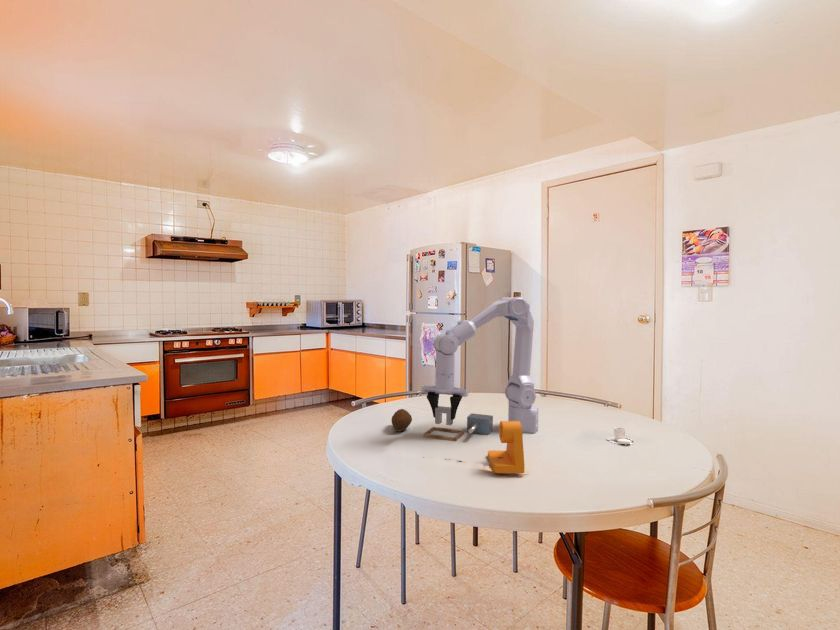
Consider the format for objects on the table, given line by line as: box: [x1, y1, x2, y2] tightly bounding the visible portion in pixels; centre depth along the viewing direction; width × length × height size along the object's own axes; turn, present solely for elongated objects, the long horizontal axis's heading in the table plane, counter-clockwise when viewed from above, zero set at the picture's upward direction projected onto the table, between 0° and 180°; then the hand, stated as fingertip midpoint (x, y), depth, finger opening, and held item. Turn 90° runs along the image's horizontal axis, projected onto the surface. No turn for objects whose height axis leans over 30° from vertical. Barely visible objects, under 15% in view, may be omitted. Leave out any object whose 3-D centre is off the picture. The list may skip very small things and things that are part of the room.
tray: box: [422, 426, 465, 442], centre depth 134 cm, size 10×8×2 cm
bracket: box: [487, 420, 525, 474], centre depth 111 cm, size 11×7×12 cm, turn 1°
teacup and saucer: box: [609, 426, 634, 446], centre depth 134 cm, size 9×8×4 cm
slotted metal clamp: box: [434, 405, 454, 426], centre depth 134 cm, size 5×2×5 cm, turn 68°
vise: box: [466, 412, 494, 435], centre depth 135 cm, size 7×15×6 cm, turn 157°
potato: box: [391, 408, 413, 432], centre depth 143 cm, size 7×12×7 cm, turn 3°
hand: (444, 417), depth 134 cm, fingers closed on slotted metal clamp, 5 cm apart
